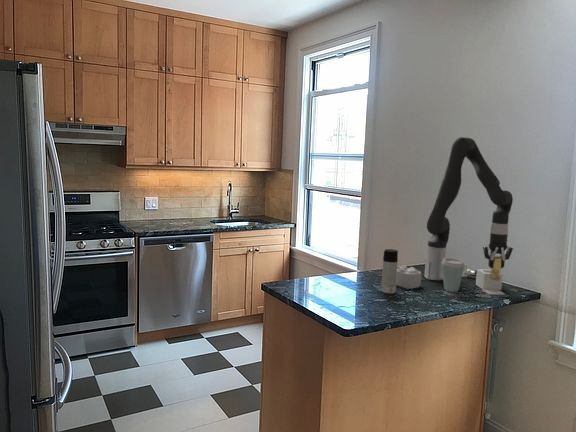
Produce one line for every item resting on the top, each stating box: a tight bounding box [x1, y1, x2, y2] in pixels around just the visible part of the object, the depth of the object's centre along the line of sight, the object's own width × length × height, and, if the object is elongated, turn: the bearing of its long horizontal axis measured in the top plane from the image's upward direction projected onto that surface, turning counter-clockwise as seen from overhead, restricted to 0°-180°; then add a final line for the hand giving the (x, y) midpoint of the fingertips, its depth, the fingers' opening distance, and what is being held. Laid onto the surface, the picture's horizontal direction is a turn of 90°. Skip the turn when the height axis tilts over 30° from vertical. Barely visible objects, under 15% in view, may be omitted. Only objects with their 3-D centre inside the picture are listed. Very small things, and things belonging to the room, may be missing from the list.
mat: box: [482, 289, 506, 296], centre depth 230 cm, size 8×7×1 cm
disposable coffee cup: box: [442, 257, 466, 293], centre depth 231 cm, size 11×11×15 cm
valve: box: [462, 263, 480, 280], centre depth 257 cm, size 7×7×12 cm
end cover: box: [490, 255, 502, 281], centre depth 229 cm, size 4×4×11 cm
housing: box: [475, 268, 504, 291], centre depth 239 cm, size 9×9×8 cm
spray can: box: [380, 248, 399, 294], centre depth 224 cm, size 7×7×20 cm
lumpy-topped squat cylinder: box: [396, 265, 422, 290], centre depth 239 cm, size 10×13×9 cm
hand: (496, 267), depth 229 cm, fingers closed on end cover, 4 cm apart
